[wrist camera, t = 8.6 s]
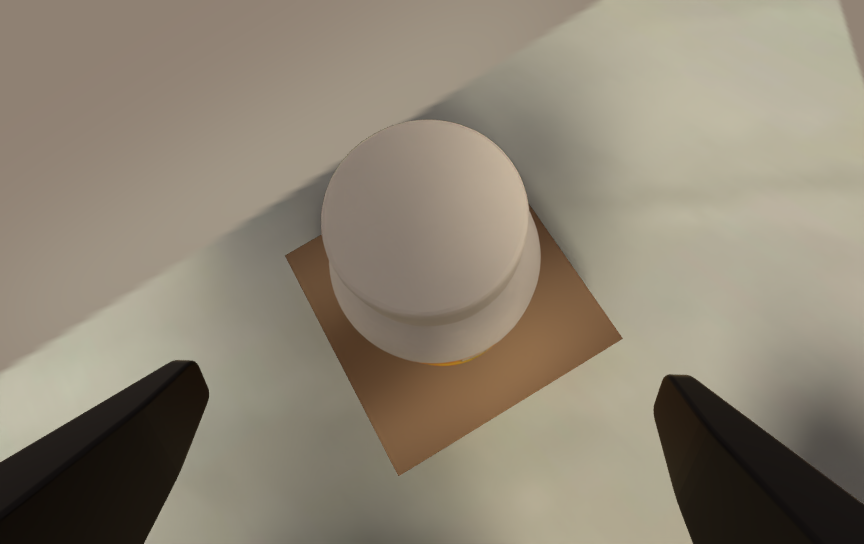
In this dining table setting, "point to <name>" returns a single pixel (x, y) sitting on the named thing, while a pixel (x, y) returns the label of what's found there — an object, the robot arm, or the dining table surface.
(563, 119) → the dining table surface
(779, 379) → the dining table surface
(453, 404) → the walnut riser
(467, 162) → the supplement bottle
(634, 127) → the dining table surface
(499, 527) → the dining table surface
